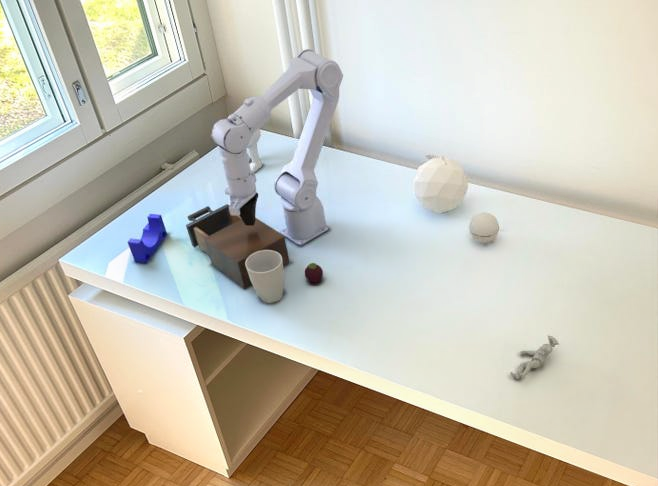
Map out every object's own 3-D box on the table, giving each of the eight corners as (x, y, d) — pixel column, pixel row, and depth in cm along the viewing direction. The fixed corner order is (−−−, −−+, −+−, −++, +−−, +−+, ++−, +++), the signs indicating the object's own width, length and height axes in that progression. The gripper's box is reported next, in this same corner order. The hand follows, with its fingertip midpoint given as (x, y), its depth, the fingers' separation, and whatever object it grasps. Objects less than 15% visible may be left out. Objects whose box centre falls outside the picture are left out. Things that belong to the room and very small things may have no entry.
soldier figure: (501, 374, 151) (531, 329, 154) (518, 388, 152) (547, 344, 156) (521, 372, 144) (552, 325, 147) (538, 387, 145) (568, 340, 149)
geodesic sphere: (390, 185, 189) (414, 156, 177) (426, 162, 197) (451, 132, 185) (426, 231, 190) (453, 205, 178) (460, 206, 198) (488, 180, 185)
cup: (295, 288, 171) (288, 253, 164) (279, 310, 165) (271, 275, 158) (263, 281, 173) (255, 247, 166) (247, 303, 167) (238, 268, 160)
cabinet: (212, 265, 178) (204, 238, 172) (256, 240, 184) (250, 214, 179) (244, 289, 171) (237, 262, 165) (289, 262, 178) (284, 236, 172)
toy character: (228, 166, 210) (216, 117, 199) (252, 153, 215) (242, 105, 204) (249, 177, 206) (238, 127, 195) (273, 163, 210) (263, 114, 200)
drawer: (181, 238, 185) (175, 217, 180) (221, 217, 191) (216, 196, 186) (220, 266, 176) (214, 245, 172) (261, 243, 182) (256, 223, 177)
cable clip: (151, 232, 188) (144, 213, 184) (167, 234, 187) (160, 214, 183) (129, 261, 180) (121, 241, 176) (146, 263, 179) (138, 243, 175)
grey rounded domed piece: (463, 244, 181) (463, 219, 175) (476, 228, 185) (477, 203, 180) (500, 255, 177) (502, 230, 172) (513, 238, 182) (514, 213, 176)
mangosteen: (316, 272, 175) (313, 257, 171) (327, 280, 172) (325, 265, 169) (302, 281, 173) (299, 266, 169) (313, 288, 170) (311, 273, 167)
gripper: (230, 155, 169) (242, 205, 179) (211, 190, 159) (224, 241, 169) (260, 156, 168) (270, 206, 178) (242, 191, 158) (254, 242, 168)
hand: (250, 223), depth 173 cm, fingers closed
